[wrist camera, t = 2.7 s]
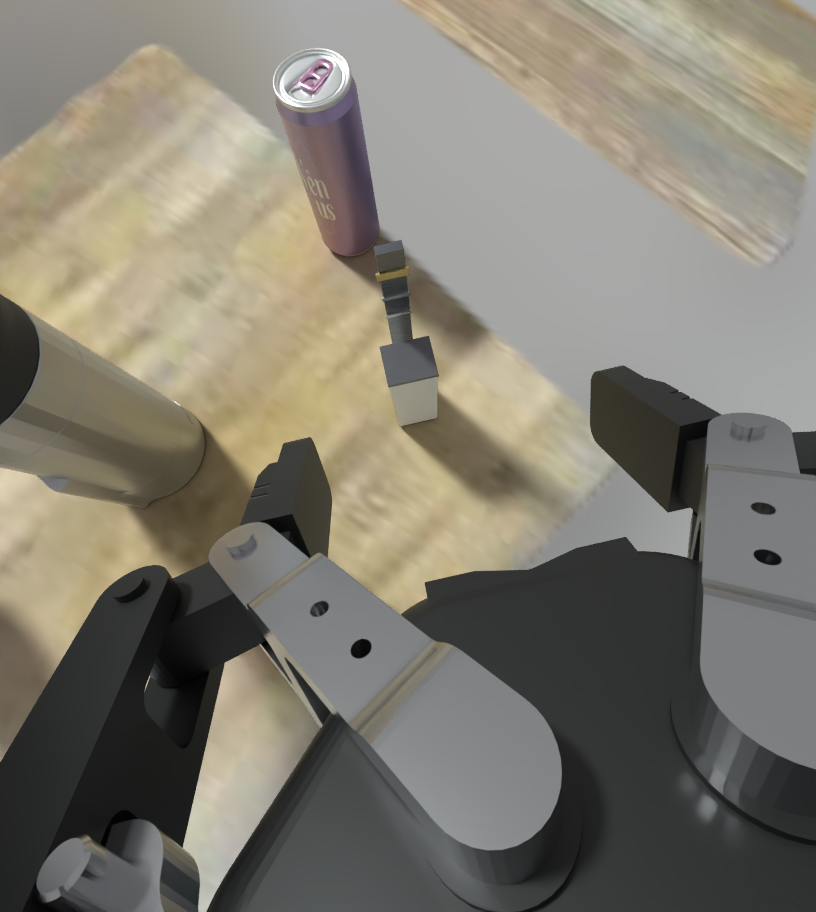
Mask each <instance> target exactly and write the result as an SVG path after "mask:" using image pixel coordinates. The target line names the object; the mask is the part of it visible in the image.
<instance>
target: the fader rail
mask: <svg viewBox="0 0 816 912" xmlns="http://www.w3.org/2000/svg"><path fill="white" fill-rule="evenodd" d="M373 247H374V252H375V257H376V262H377V267H378V273H376V278H377V282H380V283H381V288H382V293H383V297H382V300H383V301H384V303H385V308H386V313H387V314H386V319H388V324H389V329H390V334H391V339H392V344H395V343H399V342H404V341H408V340H412V339H413V337H412V327H411V317H410V313H412V311H411V309H410V307H409V297H408V296H410V291H408V287H407V278H406V275H410V271H409V266H405V258H404V249H403V245H402V241H401V240H400V241H395V242H391V243H387V244H382V245H378V246H373Z"/></svg>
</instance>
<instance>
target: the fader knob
mask: <svg viewBox="0 0 816 912" xmlns="http://www.w3.org/2000/svg"><path fill="white" fill-rule="evenodd" d="M380 351H381V355H382V360H383V364H384V369H385V374H386V378H387V383H388V387H389V388H390V392H391V396H392V399H393V403H394V407H395V411H396V415H397V418H398V422H399V426H404V425H408V424H413V423H417V422H421V421H426V420H430V419H435V418H437V395H438V377H439V374H438V370H437V366H436V362H435V359H434V355H433V351H432V347H431V343H430V339H429V336H426V337H421V338H417V339H412V340H408V341H404V342H399V343H395V344H390V345H386V346H382V347H380Z"/></svg>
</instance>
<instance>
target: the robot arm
mask: <svg viewBox="0 0 816 912" xmlns="http://www.w3.org/2000/svg"><path fill="white" fill-rule="evenodd" d="M590 427H591V432H592V435H593V437H594V439H595V441H596V443H597V444H598V445H599V446H600V447H601V448H602V449H603V450H604V451H605V452H606V453H607V454H608V455H609V456H610V457H611V458H613V459H614V460H615V461H616V462H617V463H618V464H619V465H620V466H621V467H622V468H623V469H624V470H625V471H626V472H627V473H628V474H629V475H630V476H631V477H632V478H633V479H634V480H635V481H636V482H637V483H638V484H639V485H640V486H641V487H642V488H643V489H645V491H647V493H648V494H650V495H651V496H652V497H653V498H654V499H655V500H656V501H657V502H658V503H659V504H660V505H661V506H662V507H663V508H664V509H665V510H666V511H667V512H672V511H676V510H681V509H685V508H692V509H693V513H692V518H691V527H690V536H689V547H688V557H687V558H686V557H682V556H677V555H673V554H667V553H660V552H646V551H637V550H636V549H635V548H634V546H633V545H632V544H631V543H630V542H629V540H628V539H627V538H626V537H623V538H619V539H615V540H610V541H606V542H602V543H597V544H593V545H589V546H584V547H579V548H576V549H574V550H572V551H569V552H567V553H565V554H563V555H561V556H558V557H556V558H554V559H552V560H550V561H548V562H546V563H544V564H541V565H539V566H537V567H535V568H532V569H529V570H508V571H473V572H469V573H464V574H460V575H455V576H451V577H447V578H442V579H438V580H433V581H429V582H425V587H426V592H427V599H424V600H422V601H420V602H419V603H417V604H415V605H414V606H412V607H410V608H409V609H407V610H406V611H405V612H403V613H402V614H401V615H400V614H399V613H397V612H396V611H395V610H394V609H392V608H391V607H390V606H389V605H387V604H386V603H385V602H383V601H382V600H381V599H380V598H378V597H377V596H376V595H374V594H373V593H372V592H371V591H369V590H368V589H367V588H365V587H364V586H363V585H362V584H360V583H359V582H358V581H357V580H355V579H354V578H353V577H351V576H350V575H349V574H348V573H346V572H345V571H344V570H342V569H341V568H340V567H339V566H337V565H336V564H335V563H334V562H332V561H331V560H330V559H328V546H329V534H330V522H331V510H332V496H331V491H330V486H329V483H328V480H327V477H326V475H325V472H324V469H323V466H322V464H321V461H320V458H319V455H318V453H317V450H316V447H315V445H314V442H313V440H312V439H311V438H310V437H309V438H304V439H300V440H296V441H291V442H287V443H284V444H283V446H282V449H281V453H280V456H279V459H278V462H276V463H271V464H269V465H268V466H267V467H266V468H265V469H264V470H263V471H262V472H261V473H260V474H259V475H258V478H257V481H256V483H255V486H254V489H253V491H252V494H251V499H250V500H249V502H248V505H247V508H246V510H245V513H244V516H243V519H242V521H241V524H240V526H239V527H237V528H234V529H233V530H231V531H229V532H228V533H226V534H225V535H223V536H222V537H221V538H220V539H219V540H218V541H217V542H216V543H215V544H214V545H213V546H212V548H211V550H210V552H209V556H208V559H209V562H208V563H206V564H204V565H202V566H200V567H198V568H195V569H193V570H191V571H189V572H186V573H184V574H182V575H180V576H177V577H175V578H172V577H171V575H170V574H169V573H168V571H167V570H166V568H164V567H162V566H159V565H152V566H146V567H142V568H139V569H137V570H134V571H132V572H130V573H128V574H126V575H125V576H123V577H121V578H120V579H118V580H117V581H116V582H114V583H113V584H112V585H111V586H109V587H108V588H107V589H106V590H105V591H104V592H103V593H102V595H101V596H100V597H99V599H98V600H97V602H96V603H95V605H94V607H93V608H92V610H91V612H90V613H89V615H88V617H87V618H86V620H85V622H84V623H83V625H82V627H81V628H80V630H79V632H78V633H77V635H76V637H75V638H74V640H73V642H72V644H71V645H70V647H69V649H68V650H67V652H66V654H65V655H64V657H63V659H62V660H61V662H60V664H59V665H58V667H57V669H56V670H55V672H54V674H53V675H52V677H51V679H50V680H49V682H48V684H47V685H46V687H45V689H44V690H43V692H42V694H41V695H40V697H39V699H38V700H37V702H36V704H35V705H34V707H33V709H32V710H31V712H30V714H29V715H28V717H27V719H26V720H25V722H24V724H23V725H22V727H21V729H20V731H19V732H18V734H17V736H16V737H15V739H14V741H13V742H12V744H11V746H10V747H9V749H8V751H7V752H6V754H5V756H4V757H3V759H2V761H1V762H0V912H198V902H199V889H200V878H199V871H198V867H197V864H196V862H195V860H194V858H193V857H192V856H191V855H190V854H189V853H188V852H187V851H186V850H184V849H183V843H184V839H185V834H186V830H187V826H188V821H189V817H190V813H191V808H192V804H193V799H194V795H195V791H196V786H197V782H198V778H199V773H200V769H201V764H202V760H203V756H204V751H205V747H206V743H207V738H208V734H209V730H210V725H211V721H212V716H213V712H214V708H215V703H216V699H217V695H218V690H219V686H220V681H221V677H222V673H223V668H224V663H225V662H227V661H229V660H231V659H232V658H234V657H236V656H238V655H240V654H242V653H244V652H246V651H248V650H250V649H252V648H254V647H256V646H258V645H260V646H261V648H262V649H263V650H264V652H265V653H266V654H267V656H268V657H269V658H270V660H271V661H272V662H273V664H274V665H275V666H276V667H277V669H278V670H279V671H280V673H281V674H282V675H283V677H284V678H285V679H286V681H287V682H288V683H289V684H290V686H291V687H292V688H293V690H294V691H295V692H296V694H297V695H298V696H299V698H300V699H301V700H302V702H303V703H304V705H305V706H306V708H307V709H308V711H309V712H310V714H311V715H312V717H313V718H314V720H315V721H316V723H317V724H318V725H319V727H320V730H319V731H318V733H317V735H316V736H315V738H314V739H313V741H312V742H311V744H310V745H309V747H308V748H307V750H306V752H305V753H304V755H303V756H302V758H301V759H300V761H299V762H298V764H297V765H296V767H295V769H294V770H293V772H292V773H291V775H290V776H289V778H288V779H287V781H286V782H285V784H284V786H283V787H282V789H281V790H280V792H279V793H278V795H277V796H276V798H275V799H274V801H273V803H272V804H271V806H270V807H269V809H268V810H267V812H266V813H265V815H264V816H263V818H262V820H261V821H260V823H259V824H258V826H257V827H256V829H255V830H254V832H253V833H252V835H251V837H250V838H249V840H248V841H247V843H246V844H245V846H244V847H243V849H242V850H241V852H240V854H239V855H238V857H237V858H236V860H235V861H234V863H233V864H232V866H231V867H230V869H229V871H228V872H227V874H226V876H225V877H224V879H223V881H222V882H221V884H220V886H219V888H218V889H217V891H216V893H215V895H214V897H213V899H212V901H211V903H210V905H209V908H208V910H207V912H816V431H814V432H794V433H792V431H791V429H790V427H789V426H788V425H786V424H785V423H784V422H781V421H780V420H778V419H775V418H772V417H769V416H765V415H760V414H753V413H730V414H724V415H721V414H719V413H718V412H716V411H714V410H712V409H711V408H709V407H707V406H705V405H703V404H702V403H700V402H698V401H696V400H695V399H693V398H692V399H690V397H689V396H687V395H686V394H684V393H682V392H678V390H677V389H675V388H673V387H671V386H670V385H668V384H666V383H664V382H660V381H656V380H652V379H648V378H644V377H643V376H641V375H639V374H637V373H636V372H634V371H632V370H631V369H629V368H627V367H626V366H619V367H614V368H610V369H606V370H601V371H597V372H594V374H593V375H592V378H591V405H590ZM204 449H205V438H204V433H203V430H202V427H201V425H200V423H199V421H198V420H197V418H196V417H195V416H194V415H193V414H192V413H191V412H189V411H188V410H186V409H185V408H183V407H182V406H181V405H179V404H178V403H176V402H175V401H173V400H171V399H169V398H167V397H166V396H164V395H163V394H161V393H160V392H158V391H156V390H155V389H153V388H151V387H150V386H148V385H147V384H145V383H143V382H142V381H140V380H139V379H137V378H135V377H134V376H132V375H130V374H129V373H127V372H126V371H124V370H122V369H121V368H119V367H118V366H116V365H114V364H113V363H111V362H109V361H108V360H106V359H105V358H103V357H101V356H100V355H98V354H97V353H95V352H93V351H92V350H90V349H88V348H87V347H85V346H84V345H82V344H80V343H79V342H77V341H76V340H74V339H72V338H71V337H69V336H67V335H66V334H64V333H63V332H61V331H59V330H58V329H56V328H54V327H53V326H51V325H50V324H48V323H46V322H45V321H43V320H42V319H40V318H38V317H37V316H35V315H33V314H32V313H30V312H29V311H27V310H25V309H24V308H22V307H21V306H19V305H17V304H15V303H14V302H12V301H11V300H9V299H7V298H6V297H4V296H2V295H1V294H0V467H2V468H6V469H11V470H15V471H20V472H24V473H29V474H33V475H37V476H38V477H39V478H40V479H41V480H42V481H43V482H44V483H45V484H46V485H47V486H48V487H49V488H51V489H52V490H54V491H56V492H60V493H65V494H70V495H75V496H81V497H86V498H91V499H97V500H102V501H107V502H113V503H118V504H123V505H129V506H134V507H139V508H146V507H147V506H148V505H149V503H150V502H152V501H153V500H155V499H157V498H161V497H165V496H168V495H170V494H172V493H174V492H176V491H178V490H179V489H180V488H182V487H183V486H184V485H186V484H187V483H188V482H189V480H190V479H191V478H192V477H193V476H194V475H195V473H196V471H197V470H198V468H199V466H200V464H201V461H202V458H203V455H204ZM149 675H150V679H149V682H148V685H147V687H146V690H145V686H146V683H147V680H148V678H149ZM144 690H145V692H144Z"/></svg>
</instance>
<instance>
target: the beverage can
mask: <svg viewBox="0 0 816 912" xmlns="http://www.w3.org/2000/svg"><path fill="white" fill-rule="evenodd" d="M273 88H274V92H275V97H276V106H277V109H278V112H279V115H280V118H281V120H282V123H283V126H284V129H285V132H286V135H287V138H288V140H289V143H290V146H291V149H292V152H293V155H294V158H295V161H296V164H297V166H298V169H299V172H300V175H301V178H302V181H303V184H304V187H305V189H306V192H307V195H308V198H309V201H310V204H311V207H312V210H313V213H314V215H315V218H316V221H317V224H318V227H319V230H320V233H321V236H322V238H323V241H324V243H325V244H326V246H327V247H328V248H329V249H330V250H332V251H333V252H335V253H337V254H339V255H342V256H357V255H360V254H363V253H364V252H366V251H368V250H369V249H370V248H371V247H372V246H373V244H374V243H375V241H376V239H377V237H378V235H379V221H378V215H377V209H376V203H375V197H374V191H373V185H372V179H371V172H370V167H369V161H368V155H367V148H366V143H365V136H364V130H363V125H362V119H361V112H360V106H359V100H358V94H357V88H356V84H355V82H354V79H353V77H352V75H351V69H350V66H349V64H348V62H347V61H346V60H345V59H344V57H342V56H341V55H340V54H338V53H337V52H335V51H332V50H328V49H323V48H311V49H305V50H302V51H299V52H296V53H294V54H292V55H291V56H289V57H288V58H286V59H285V60H284V61H283V62H282V63H281V64H280V65H279V67H278V68H277V70H276V71H275V74H274V77H273Z"/></svg>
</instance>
